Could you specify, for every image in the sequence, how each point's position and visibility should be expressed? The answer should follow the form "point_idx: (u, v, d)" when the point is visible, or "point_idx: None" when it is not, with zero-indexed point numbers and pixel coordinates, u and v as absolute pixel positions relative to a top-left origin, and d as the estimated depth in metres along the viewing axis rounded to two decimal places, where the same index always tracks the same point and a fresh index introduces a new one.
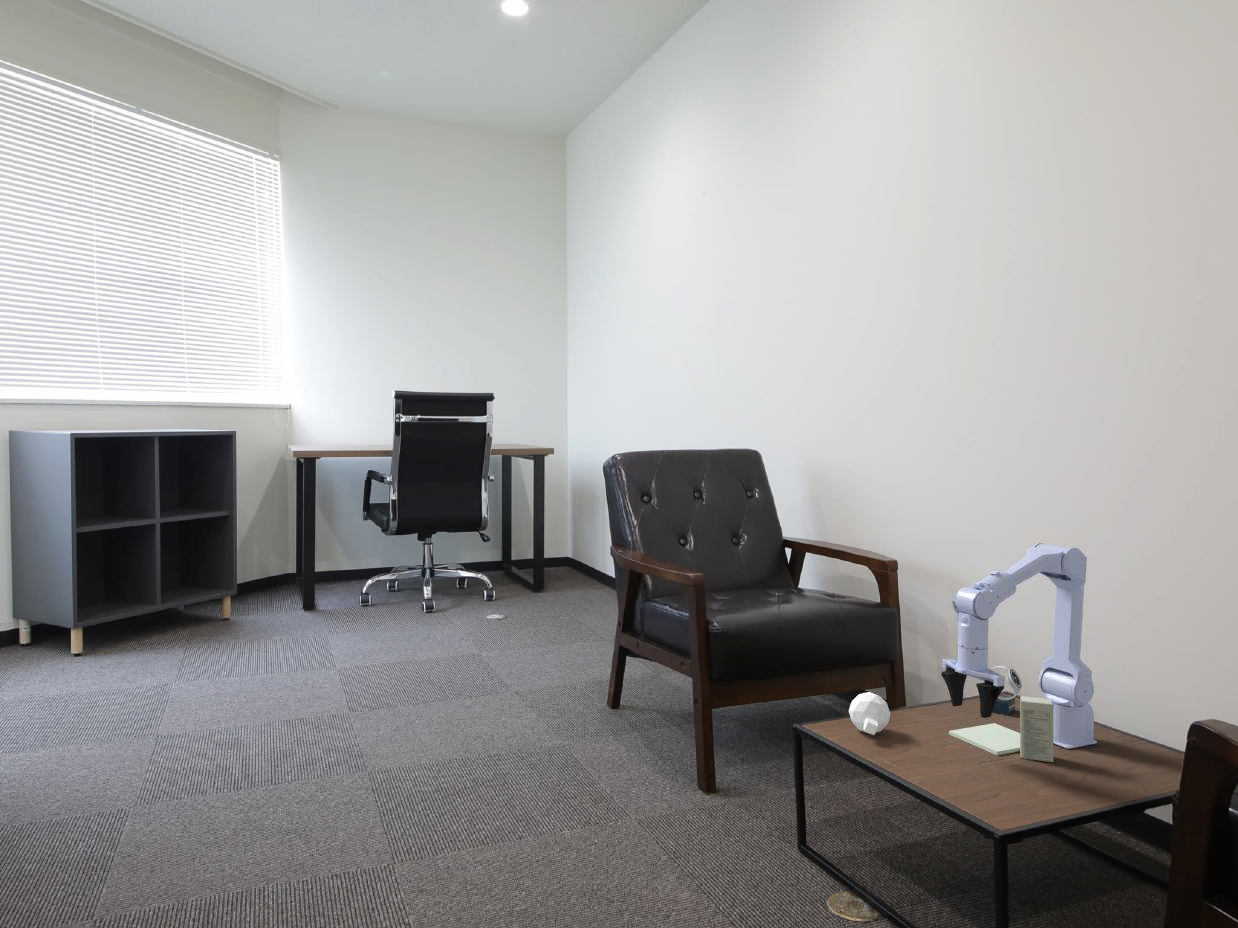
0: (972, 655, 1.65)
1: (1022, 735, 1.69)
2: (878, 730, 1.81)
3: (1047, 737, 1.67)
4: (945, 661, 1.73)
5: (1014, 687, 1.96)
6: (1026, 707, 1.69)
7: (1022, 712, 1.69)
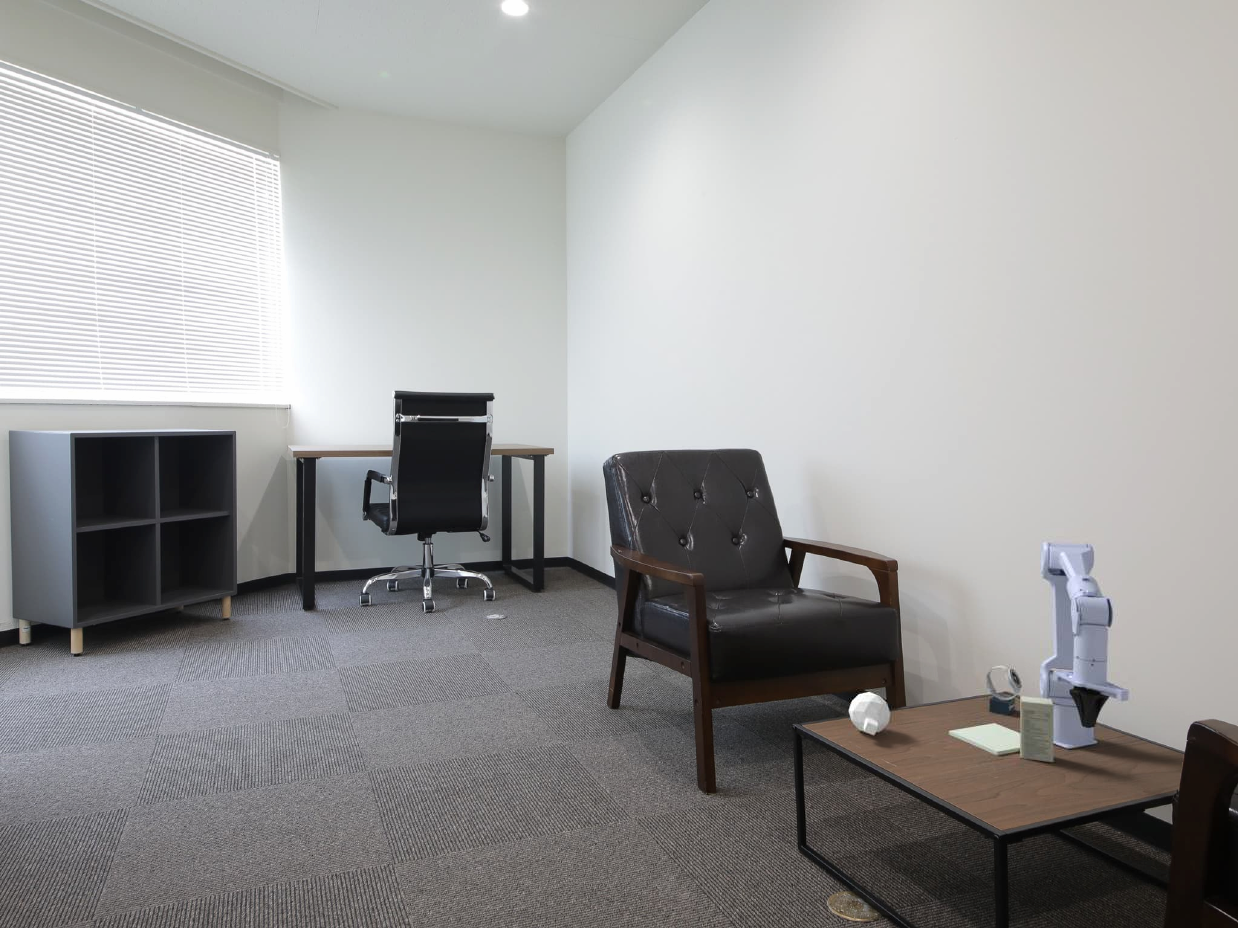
0: (1091, 668, 1.56)
1: (1022, 735, 1.69)
2: (878, 730, 1.81)
3: (1047, 738, 1.67)
4: (1057, 673, 1.64)
5: (1014, 687, 1.96)
6: (1026, 707, 1.69)
7: (1022, 712, 1.69)
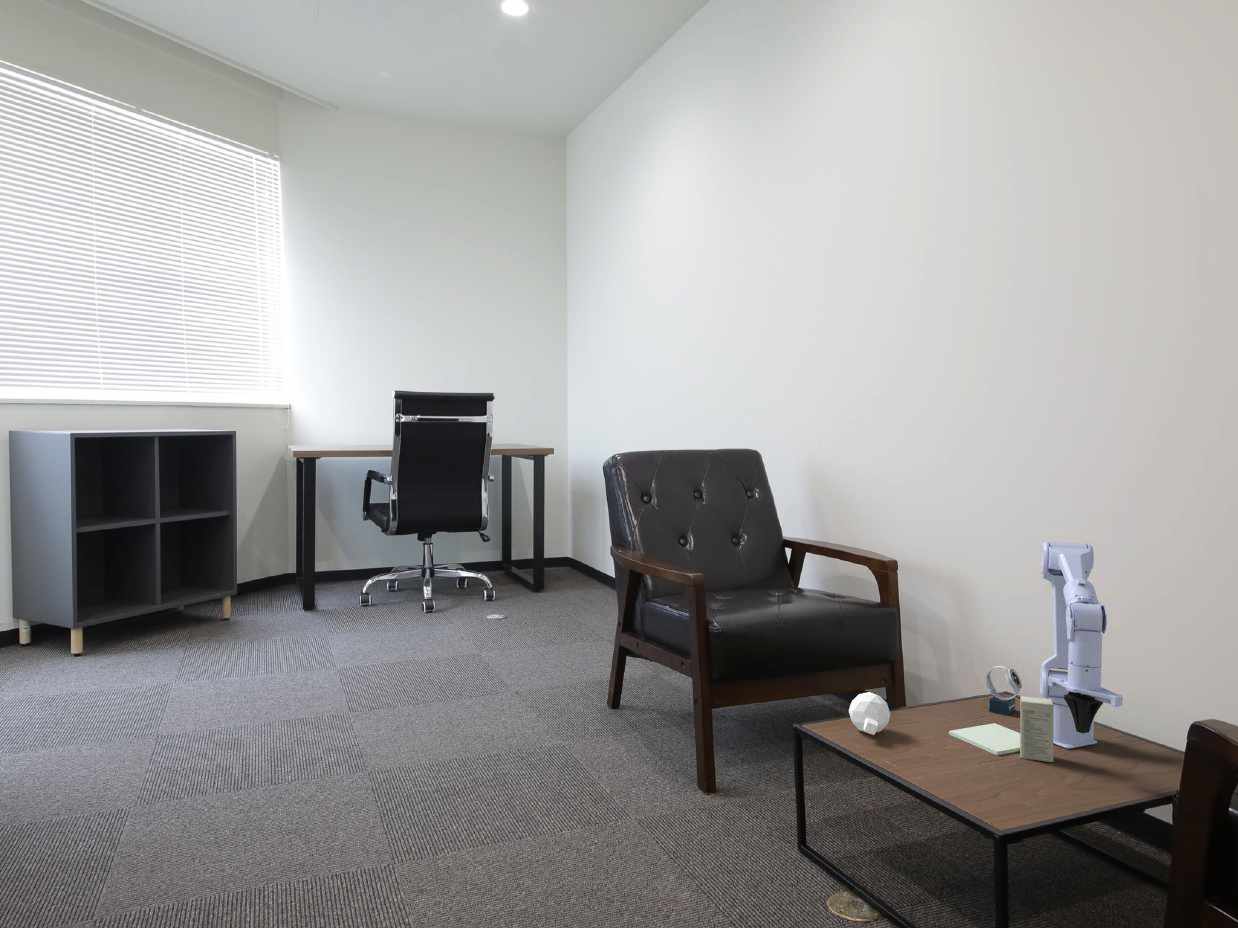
0: (1085, 674, 1.57)
1: (1022, 735, 1.69)
2: (878, 730, 1.81)
3: (1047, 738, 1.67)
4: (1052, 679, 1.65)
5: (1014, 687, 1.96)
6: (1026, 707, 1.69)
7: (1022, 712, 1.69)
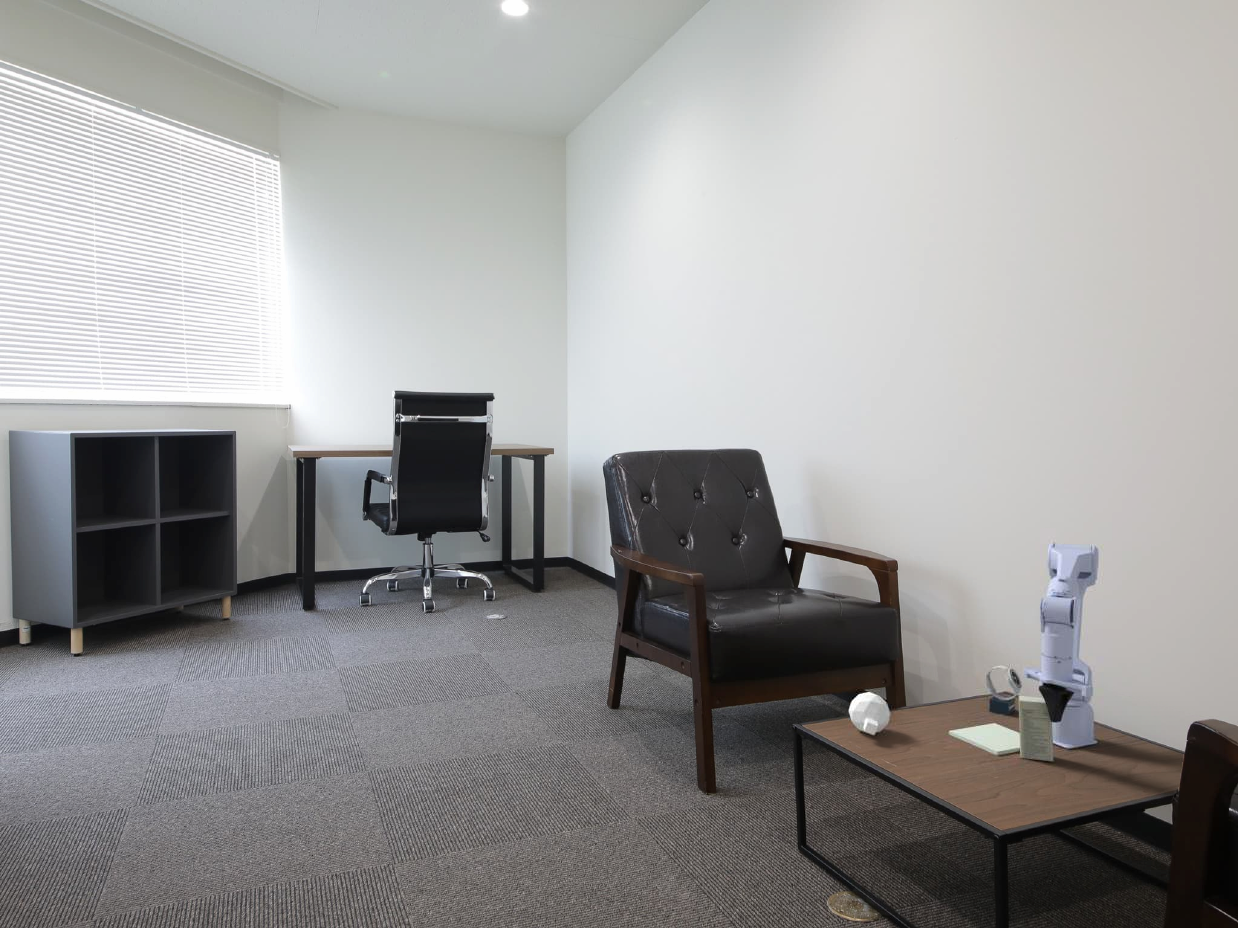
0: (1058, 665, 1.63)
1: (1021, 735, 1.69)
2: (878, 730, 1.81)
3: (1046, 737, 1.67)
4: (1026, 670, 1.71)
5: (1014, 687, 1.96)
6: (1025, 706, 1.69)
7: (1021, 711, 1.69)
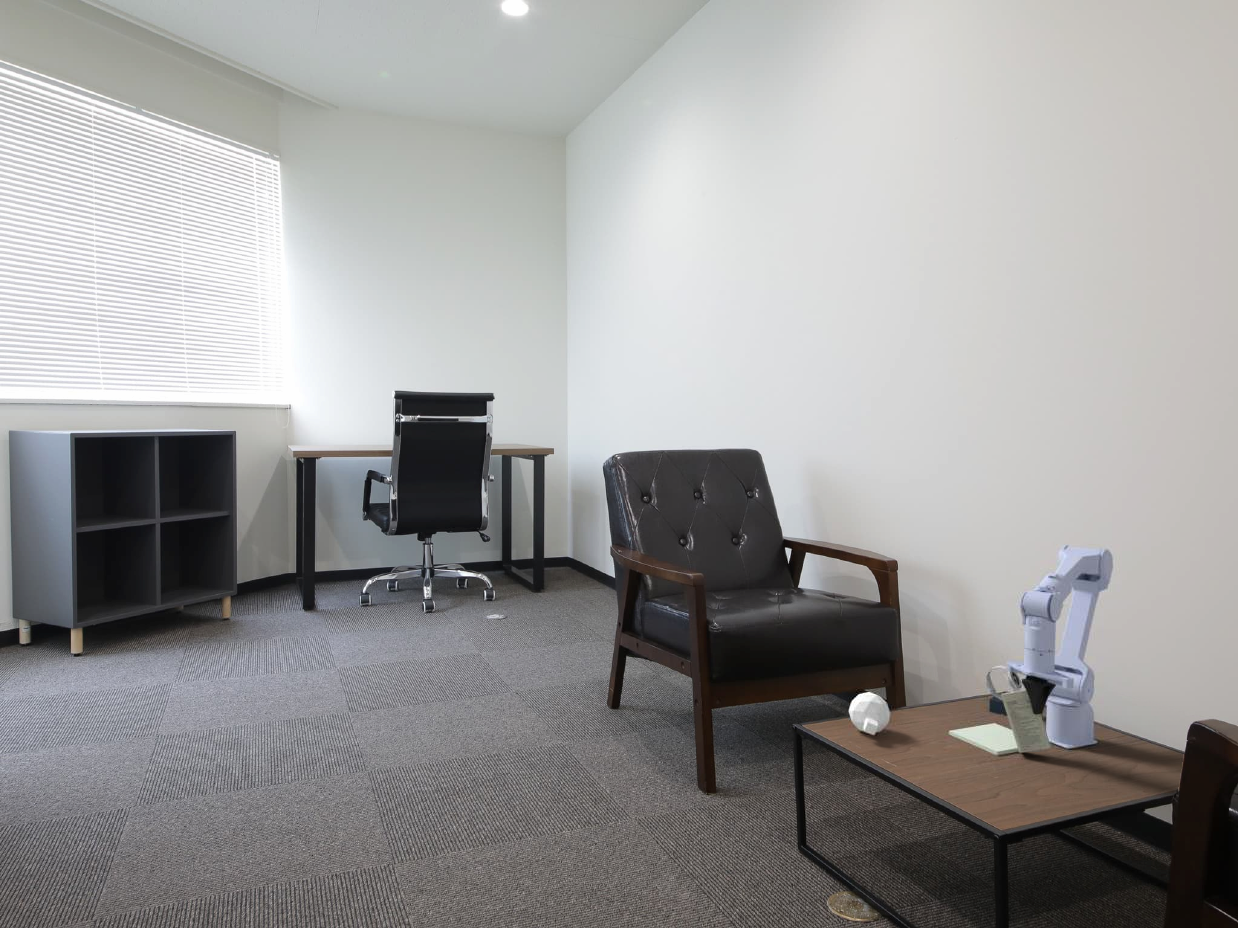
0: (1040, 657, 1.66)
1: (1013, 728, 1.71)
2: (878, 730, 1.81)
3: (1036, 724, 1.69)
4: (1010, 664, 1.74)
5: (1014, 687, 1.96)
6: (1008, 698, 1.73)
7: (1006, 705, 1.73)
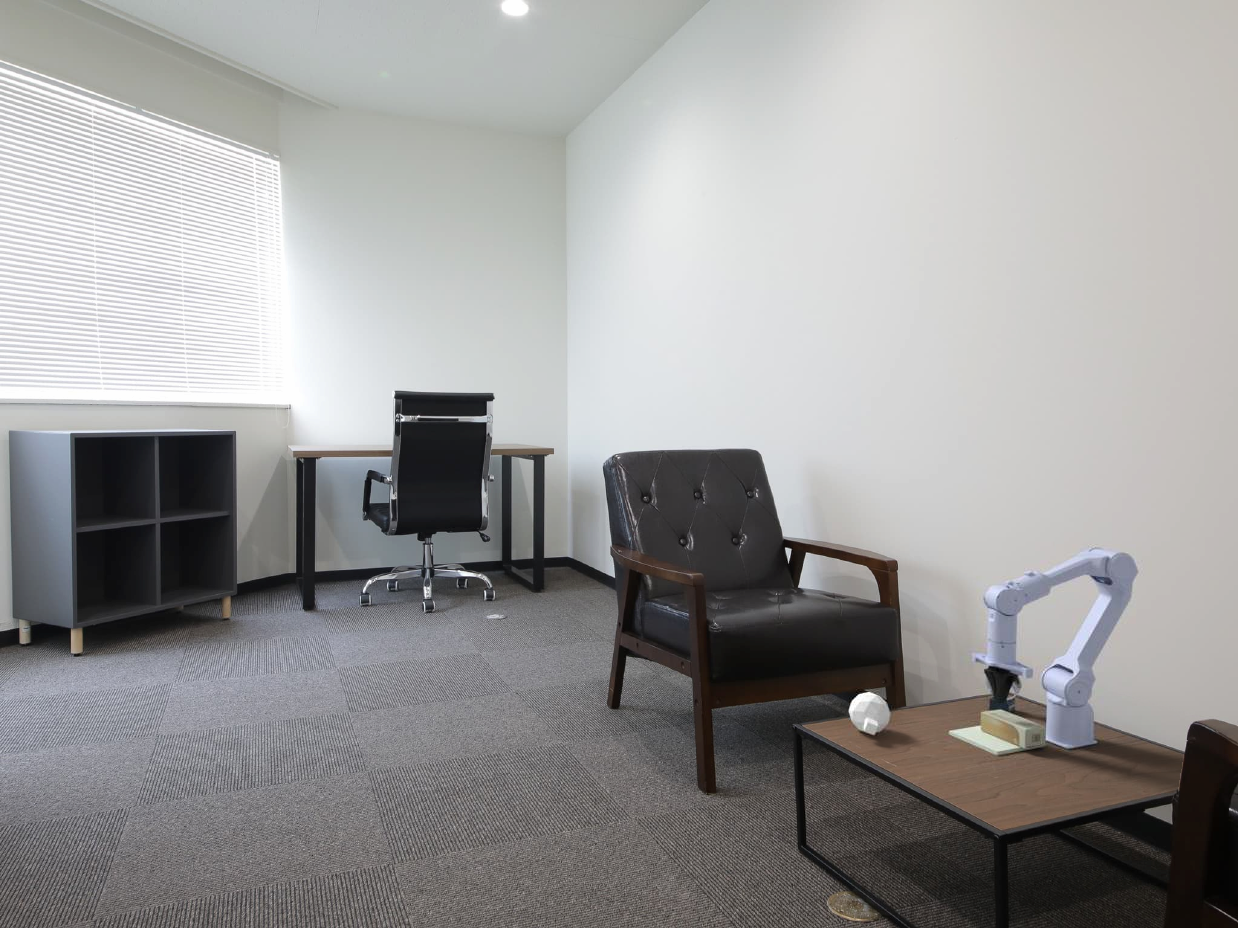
0: (1001, 649, 1.75)
1: (1008, 722, 1.76)
2: (878, 730, 1.81)
3: (1023, 719, 1.78)
4: (975, 655, 1.83)
5: (1014, 687, 1.96)
6: (988, 712, 1.82)
7: (990, 714, 1.81)
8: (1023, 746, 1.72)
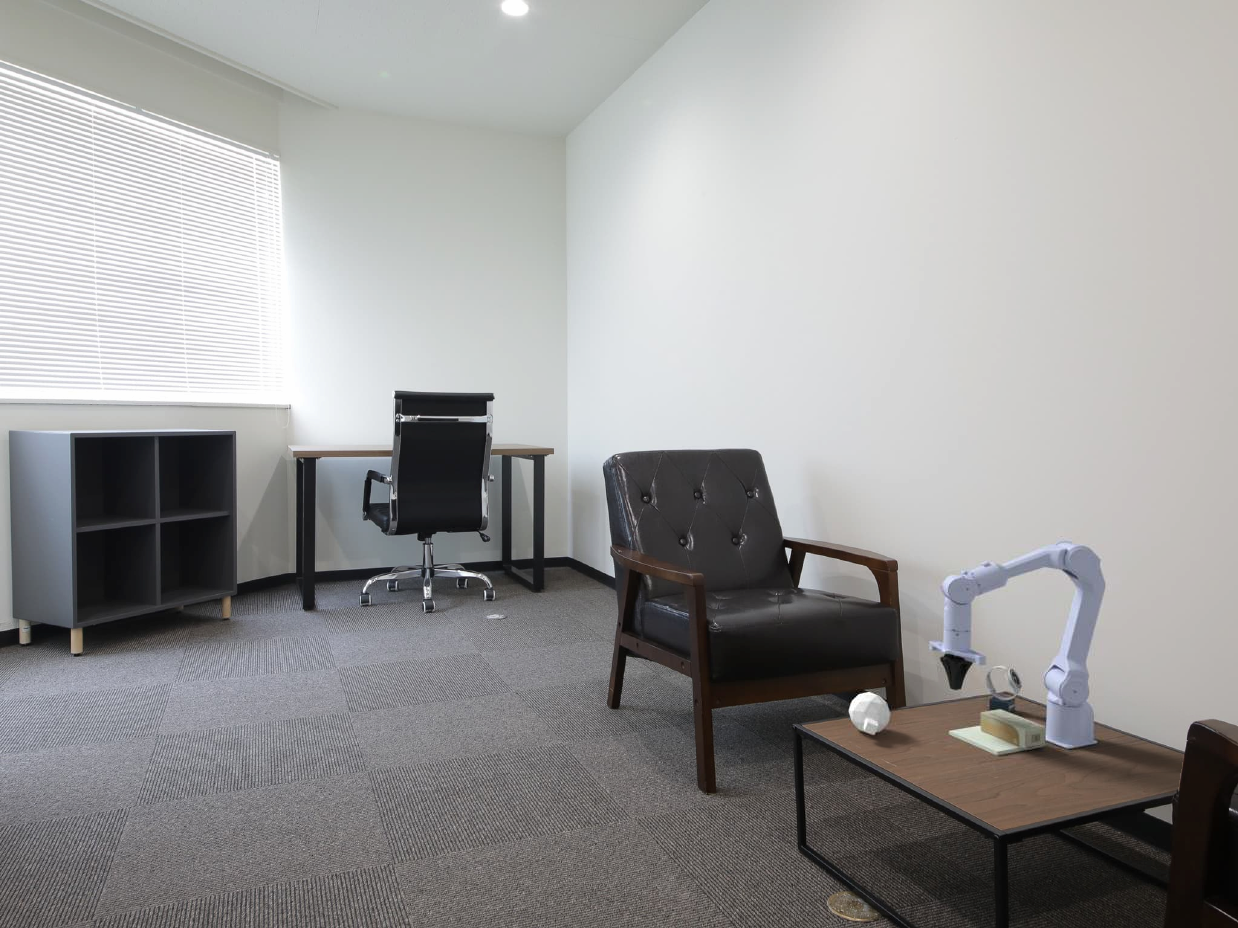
0: (956, 637, 1.79)
1: (1007, 722, 1.76)
2: (878, 730, 1.81)
3: (1023, 719, 1.78)
4: (932, 643, 1.87)
5: (1014, 687, 1.96)
6: (988, 713, 1.82)
7: (990, 715, 1.81)
8: (1023, 746, 1.72)
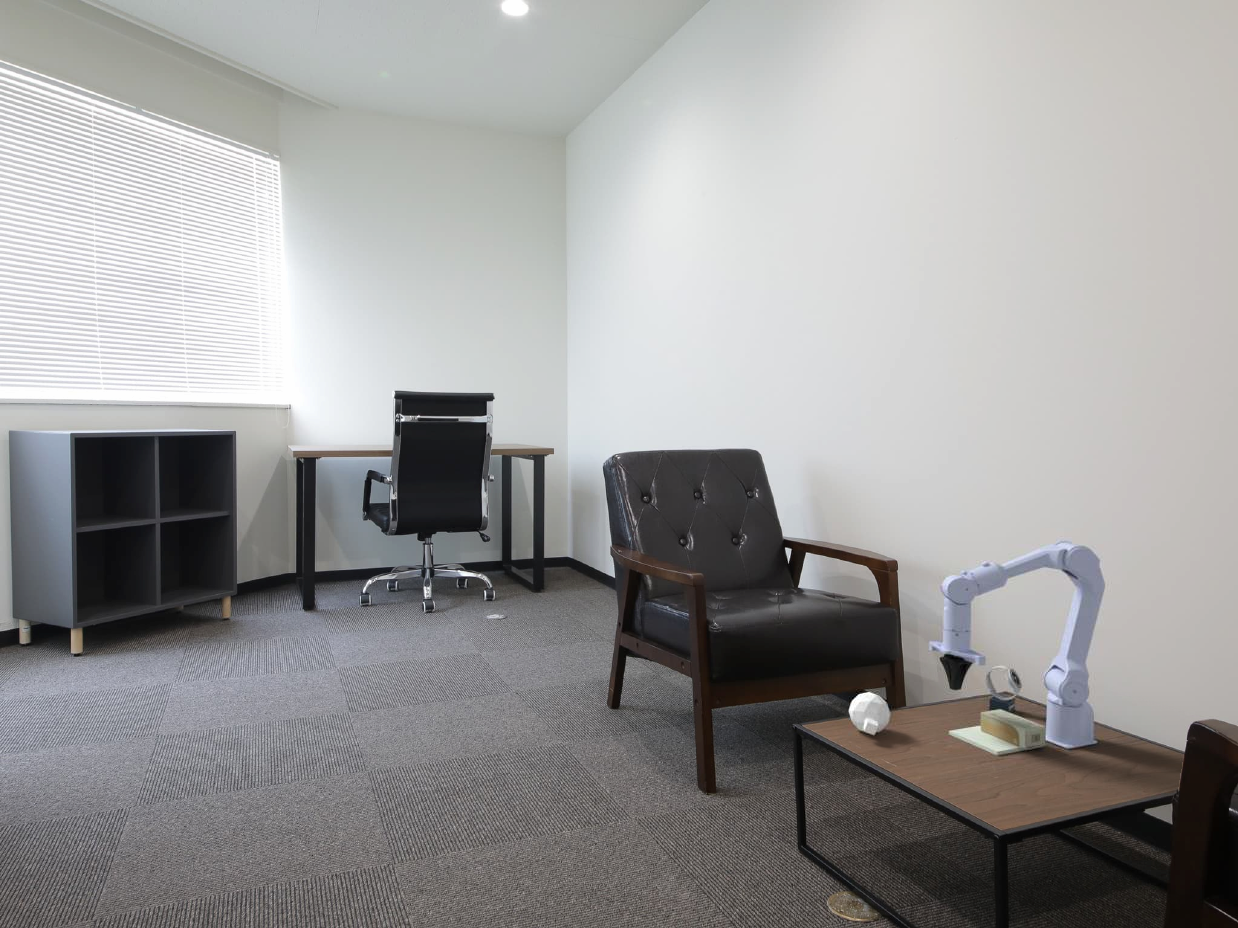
0: (956, 637, 1.79)
1: (1007, 722, 1.76)
2: (878, 730, 1.81)
3: (1023, 719, 1.78)
4: (932, 643, 1.87)
5: (1014, 687, 1.96)
6: (988, 713, 1.82)
7: (990, 715, 1.81)
8: (1023, 746, 1.72)
